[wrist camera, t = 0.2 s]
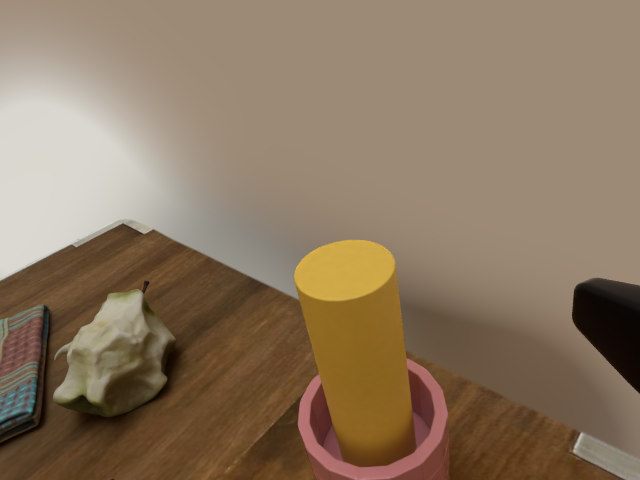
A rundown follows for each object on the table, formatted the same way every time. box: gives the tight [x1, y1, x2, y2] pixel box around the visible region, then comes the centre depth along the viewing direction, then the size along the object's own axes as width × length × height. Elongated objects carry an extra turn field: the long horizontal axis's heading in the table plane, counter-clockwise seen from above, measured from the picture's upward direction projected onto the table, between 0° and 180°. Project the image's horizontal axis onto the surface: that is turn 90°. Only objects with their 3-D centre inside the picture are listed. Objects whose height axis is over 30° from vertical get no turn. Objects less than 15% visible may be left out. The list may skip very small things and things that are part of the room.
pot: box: [298, 358, 450, 480], centre depth 23 cm, size 7×7×6 cm
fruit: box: [53, 281, 176, 417], centre depth 34 cm, size 9×9×8 cm
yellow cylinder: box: [294, 240, 417, 467], centre depth 20 cm, size 4×4×12 cm
